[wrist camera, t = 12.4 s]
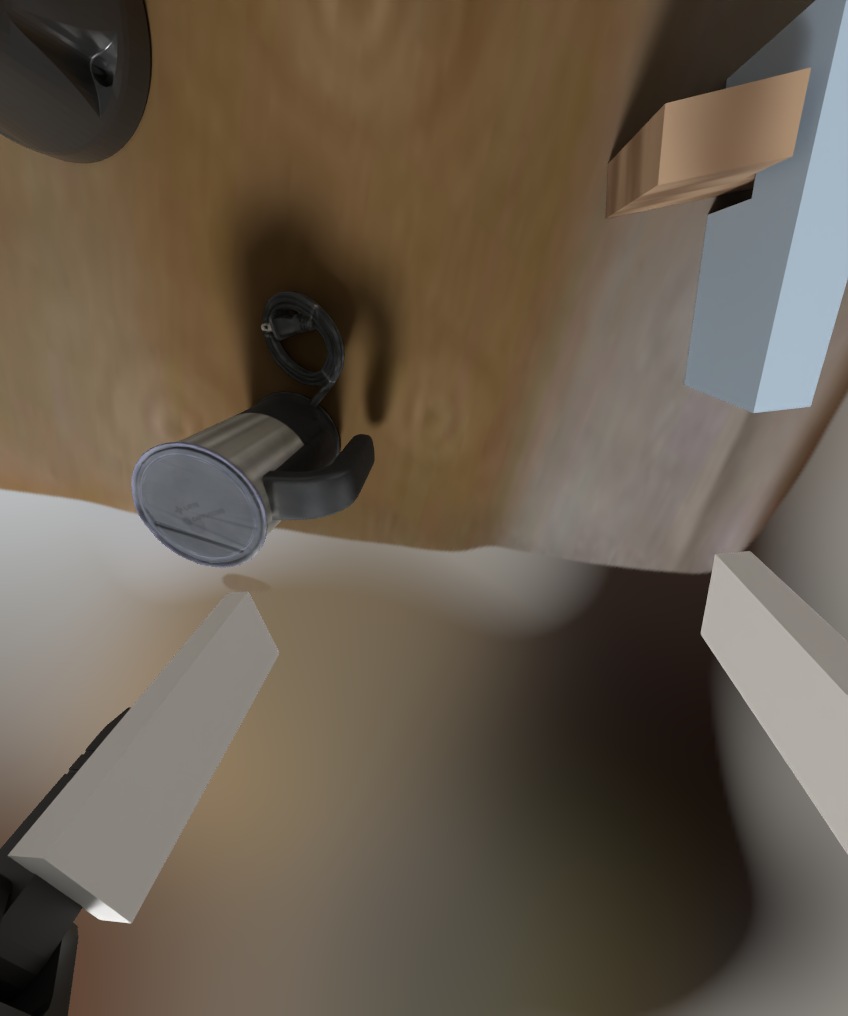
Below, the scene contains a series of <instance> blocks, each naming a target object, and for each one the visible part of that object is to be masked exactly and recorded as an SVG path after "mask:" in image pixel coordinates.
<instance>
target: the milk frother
mask: <svg viewBox="0 0 848 1016" xmlns="http://www.w3.org/2000/svg"><path fill="white" fill-rule="evenodd" d="M286 309H290V310H296V311H298V314H292V312H291V311H289V310H287V311H283V310H286ZM261 329H262V330H263V331H264V336H265V339H266V343H267V345H268V348H269V350H270V353H271V354H272V356H273V358H274V360H275V361H276V363H277V364H278V365H279V366H280V367H281V368H282V369H284V371H286V373H287V374H288V375H290V376H291V377H292V378H293V379H295V380H297V381H298V382H300V383H303V384H306V385H310V386H322V389H321V390H320V391H319V392H318V393H317V394H316V395H315V396H314V397H313V398H312V400H311V399H310V398H307V397H305V396H303V395H300V394H297V393H292V392H277V393H273V394H270V395H268V396H266V397H264V398H262V399H261V400H260V401H259V402H258V403H257V404H256V405H255V406H253V407H251V408H250V409H248V410H246V411H244V412H242V413H240V414H237V415H235V416H233V417H231V418H229V419H227V420H224V421H222V422H220V423H218V424H216V425H214V426H211V427H209V428H207V429H205V430H203V431H201V432H199V433H196V434H194V435H192V436H190V437H188V438H185V439H183V440H181V441H179V442H172V443H165V444H161V445H158V446H156V447H153V448H150V449H149V450H148V451H146V452H145V453H144V454H143V455H142V456H141V458H140V459H139V460H138V462H137V463H136V465H135V467H134V470H133V474H132V480H131V482H132V494H133V501H134V506H135V508H136V510H137V512H138V514H139V516H140V518H141V519H142V520H143V522H144V523H145V525H146V526H147V527H148V528H149V529H150V531H151V532H152V533H153V534H154V535H155V537H156V538H157V539H158V540H159V541H161V542H162V543H163V544H164V545H165V546H166V547H168V548H169V549H171V550H172V551H173V552H175V553H177V554H178V555H180V556H182V557H184V558H186V559H188V560H191V561H193V562H195V563H197V564H201V565H206V566H212V567H220V568H221V567H233V566H236V565H241V564H243V563H245V562H247V561H249V560H250V559H252V557H254V556H255V555H256V554H257V553H258V552H259V551H260V549H261V548H262V546H263V544H264V541H265V538H266V536H267V535H268V534H269V533H270V532H271V531H272V530H273V528H274V527H275V526H276V525H277V524H278V523H279V522H280V521H281V520H307V519H316V518H321V517H325V516H329V515H332V514H335V513H337V512H340V511H342V510H344V509H345V508H347V507H348V506H350V505H351V504H352V503H353V502H354V501H355V500H356V498H357V497H358V495H359V493H360V491H361V489H362V487H363V485H364V483H365V481H366V479H367V477H368V474H369V472H370V470H371V468H372V466H373V463H374V446H373V441H372V439H371V437H370V436H369V435H364V434H359V435H356V436H354V437H353V438H352V439H351V440H350V442H349V443H348V444H347V445H346V446H345V448H344V449H343V451H341V452H340V442H339V435H338V432H337V429H336V427H335V424H334V423H333V421H332V419H331V418H330V416H329V415H328V414H327V413H326V412H325V410H324V409H323V408H322V407H321V406H320V405H318V404H319V403H320V402H321V400H322V399H323V398H324V397H325V396H326V394H327V393H328V392H329V391H330V389H331V388H332V387H333V385H334V384H335V382H336V381H337V379H338V377H339V375H340V373H341V371H342V369H343V365H344V346H343V341H342V338H341V335H340V333H339V331H338V328H337V326H336V325H335V323H334V322H333V320H332V319H331V318H330V316H329V315H328V314H327V313H326V312H325V311H324V310H323V308H322V307H320V306H319V305H318V304H317V303H316V302H315V301H313V300H312V299H310V298H309V297H307V296H305V295H303V294H301V293H298V292H294V291H284V292H279V293H277V294H275V295H274V296H272V297H271V298H270V299H269V301H268V302H267V304H266V306H265V310H264V313H263V324H262V325H261ZM310 330H317V331H318V332H319V333H320V334H321V336H322V338H323V340H324V342H325V346H326V352H327V356H326V361H325V364H324V366H323V368H322V369H321V370H320V371H318V372H312V371H308V370H306V369H304V368H302V367H300V366H299V365H297V364H296V363H295V362H294V361H293V360H292V359H291V358H290V357H289V356H288V355H287V353H286V352H285V351H284V349H283V347H282V345H281V343H280V341H279V340H283V339H285V338H289V337H292V336H294V335H295V334H296V333H297V332H299V333H304V332H308V331H310ZM339 452H340V454H339Z"/></svg>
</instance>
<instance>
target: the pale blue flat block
mask: <svg viewBox="0 0 848 1016" xmlns="http://www.w3.org/2000/svg"><path fill="white" fill-rule="evenodd" d="M806 68H811V71H810V76H809V81H808V86H807V90H806V95H805V100H804V105H803V110H802V114H801V119H800V124H799V129H798V133H797V138H796V143H795V148H794V153H793V156H792V157H790V158H788V159H786V160H783V161H781V162H779V163H777V164H775V165H773V166H770V167H768V168H766V169H764V170H762V171H759V172H757V173H756V177H755V182H754V188H753V193H752V199H749V200H746V201H744V202H741V203H738V204H735V205H733V206H730V207H727V208H725V209H722V210H719V211H717V212H714V213H711V214H709V215H708V217H707V225H706V232H705V239H704V246H703V253H702V260H701V268H700V275H699V282H698V289H697V296H696V303H695V310H694V318H693V325H692V332H691V339H690V346H689V353H688V361H687V368H686V375H685V382H684V385H686V386H688V387H691V388H693V389H696V390H698V391H701V392H703V393H705V394H708V395H710V396H713V397H715V398H718V399H720V400H723V401H725V402H728V403H730V404H732V405H735V406H737V407H740V408H742V409H745V410H747V411H750V412H752V413H758V412H766V411H775V410H784V409H793V408H802V407H811V403H812V400H813V397H814V393H815V390H816V386H817V383H818V379H819V376H820V372H821V369H822V365H823V362H824V359H825V355H826V352H827V348H828V345H829V341H830V338H831V334H832V331H833V328H834V324H835V321H836V317H837V314H838V310H839V307H840V303H841V300H842V296H843V293H844V290H845V286H846V283H847V279H848V0H815V1H814V2H813V3H812V4H811V5H810V6H809V7H807V8H806V9H805V10H804V11H803V12H802V13H801V14H800V15H798V16H797V17H796V18H795V19H794V20H793V21H792V22H791V23H789V24H788V25H787V26H786V27H785V28H784V29H783V30H782V31H780V32H779V33H778V34H777V35H776V36H775V37H774V38H773V39H771V40H770V41H769V42H768V43H767V44H766V45H765V46H764V47H762V48H761V49H760V50H759V51H758V52H757V53H756V54H755V55H753V56H752V57H751V58H750V59H749V60H748V61H747V62H746V63H744V64H743V65H742V66H741V67H740V68H739V69H738V70H737V71H735V72H734V73H733V74H732V75H731V76H730V77H729V78H728V79H727V81H726V88H730V87H734V86H738V85H742V84H746V83H750V82H754V81H758V80H762V79H766V78H770V77H774V76H778V75H782V74H786V73H790V72H794V71H798V70H802V69H806Z"/></svg>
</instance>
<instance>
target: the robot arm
mask: <svg viewBox="0 0 848 1016" xmlns="http://www.w3.org/2000/svg"><path fill="white" fill-rule="evenodd" d="M149 81H150V42H149V33H148V26H147V20H146V14H145V9H144V5H143V1H142V0H0V134H2V135H3V136H5V137H7V138H8V139H10V140H12V141H14V142H16V143H18V144H20V145H22V146H24V147H26V148H29V149H31V150H34V151H37V152H40V153H42V154H45V155H48V156H51V157H54V158H57V159H60V160H64V161H68V162H73V163H92V162H97V161H101V160H104V159H106V158H108V157H110V156H112V155H113V154H115V153H116V152H118V151H119V150H120V149H121V148H122V147H123V146H124V145H125V144H126V143H127V142H128V141H129V139H130V138H131V137H132V135H133V134H134V132H135V130H136V128H137V126H138V124H139V122H140V120H141V117H142V115H143V111H144V108H145V105H146V100H147V96H148V89H149ZM701 635H702V637H703V638H704V640H705V641H706V643H707V644H708V646H709V647H710V649H711V650H712V652H713V653H714V655H715V656H716V658H717V659H718V661H719V662H720V664H721V665H722V667H723V668H724V670H725V671H726V672H727V674H728V676H729V677H730V679H731V680H732V681H733V683H734V685H735V686H736V687H737V689H738V690H739V692H740V693H741V695H742V697H743V698H744V700H745V701H746V703H747V704H748V706H749V707H750V709H751V710H752V712H753V713H754V715H755V716H756V718H757V719H758V721H759V722H760V724H761V725H762V727H763V728H764V730H765V731H766V733H767V734H768V736H769V737H770V739H771V740H772V742H773V743H774V745H775V746H776V748H777V749H778V751H779V752H780V754H781V755H782V757H783V758H784V760H785V761H786V763H787V764H788V766H789V767H790V769H791V770H792V772H793V773H794V775H795V776H796V778H797V779H798V781H799V782H800V784H801V785H802V786H803V788H804V790H805V791H806V793H807V794H808V796H809V797H810V798H811V800H812V801H813V803H814V805H815V806H816V807H817V809H818V810H819V812H820V813H821V815H822V817H823V818H824V819H825V821H826V823H827V824H828V826H829V827H830V829H831V830H832V832H833V833H834V834H835V836H836V837H837V839H838V841H839V842H840V844H841V845H842V847H843V848H844V850H845V851H846V853H847V854H848V641H846V640H845V639H844V638H843V637H842V636H841V635H840V634H839V633H838V632H837V631H836V630H835V629H834V628H832V627H831V626H830V625H829V624H828V623H827V622H826V621H825V620H824V619H823V618H822V617H820V615H818V614H817V613H816V612H815V611H814V610H813V609H812V608H811V607H810V606H809V605H808V604H807V603H805V602H804V601H803V600H802V599H801V598H800V597H799V596H798V595H797V594H796V593H795V592H794V591H793V590H791V589H790V588H789V587H788V586H787V585H786V584H785V583H784V582H783V581H782V580H781V579H780V578H778V577H777V576H776V575H775V574H774V573H773V572H772V571H771V570H770V569H769V568H768V567H767V566H766V565H764V564H763V563H762V562H761V561H760V560H759V559H758V558H757V557H756V556H755V555H754V554H753V553H751V552H750V551H747V552H734V553H722V554H715V559H714V564H713V570H712V575H711V581H710V586H709V592H708V598H707V603H706V608H705V613H704V619H703V625H702V630H701ZM278 655H279V651H278V649H277V647H276V645H275V643H274V641H273V639H272V637H271V635H270V634H269V631H268V629H267V627H266V625H265V624H264V621H263V619H262V617H261V615H260V614H259V612H258V610H257V608H256V606H255V604H254V602H253V600H252V598H251V596H250V594H249V592H248V591H247V592H235V593H227V594H226V595H225V596H224V597H223V598H222V600H221V601H220V602H219V603H218V604H217V606H216V607H215V608H214V609H213V610H212V612H211V613H210V614H209V615H208V616H207V618H206V619H205V620H204V621H203V622H202V624H201V625H200V626H199V627H198V628H197V630H196V631H195V632H194V633H193V634H192V635H191V637H190V638H189V639H188V640H187V642H186V643H185V644H184V645H183V646H182V648H181V649H180V650H179V651H178V652H177V654H176V655H175V656H174V657H173V658H172V659H171V661H170V662H169V663H168V664H167V665H166V667H165V668H164V669H163V670H162V671H161V673H160V674H159V675H158V676H157V678H156V679H155V680H154V681H153V683H151V685H150V686H149V687H148V688H147V689H146V691H145V692H144V693H143V694H142V695H141V697H140V698H139V699H138V700H137V701H136V702H135V704H134V705H133V706H132V707H130V708H127V709H126V710H125V711H124V712H122V713H121V714H120V715H119V716H118V717H117V718H115V719H114V720H113V721H112V722H110V723H109V724H108V725H107V726H106V727H105V728H104V729H103V730H102V731H101V732H100V733H99V735H98V736H97V737H96V738H95V739H94V740H93V742H92V743H91V744H90V745H89V746H88V748H87V749H86V752H85V754H83V755H81V756H80V757H79V758H78V759H77V761H75V763H74V764H73V765H72V766H71V767H70V768H69V772H68V774H64V775H63V777H62V778H61V779H60V780H59V781H58V782H57V784H56V785H55V786H54V787H53V788H52V789H51V791H50V792H49V793H48V794H47V795H46V796H45V797H44V799H43V800H42V801H41V802H40V803H39V804H38V806H37V807H36V808H35V809H34V810H33V811H32V813H31V814H30V815H29V816H28V817H27V818H26V820H25V821H24V822H23V823H22V824H21V826H20V827H19V828H18V829H17V830H16V831H15V833H14V834H13V835H12V836H11V837H10V838H9V839H8V841H7V842H6V843H5V844H4V845H3V847H2V848H1V849H0V1016H68V1010H69V1003H70V995H71V988H72V980H73V973H74V965H75V959H76V951H77V944H78V926H77V925H76V924H75V923H74V922H73V921H74V920H75V918H76V917H77V915H78V914H79V912H80V910H81V909H82V908H84V909H85V910H86V911H88V912H89V913H91V914H92V915H94V916H95V917H96V918H98V919H99V920H107V921H115V922H124V923H132V921H133V920H134V918H135V916H136V914H137V912H138V910H139V909H140V907H141V905H142V903H143V901H144V899H145V898H146V896H147V894H148V892H149V890H150V889H151V887H152V885H153V883H154V881H155V880H156V878H157V876H158V874H159V872H160V870H161V869H162V867H163V865H164V863H165V861H166V859H167V858H168V856H169V854H170V852H171V850H172V849H173V847H174V845H175V843H176V841H177V839H178V837H179V836H180V834H181V832H182V830H183V828H184V827H185V825H186V823H187V821H188V819H189V817H190V816H191V814H192V812H193V810H194V808H195V807H196V805H197V803H198V801H199V799H200V797H201V796H202V794H203V792H204V790H205V788H206V787H207V785H208V783H209V781H210V779H211V777H212V776H213V774H214V772H215V770H216V768H217V766H218V764H219V763H220V761H221V759H222V757H223V755H224V754H225V752H226V750H227V748H228V746H229V745H230V743H231V741H232V739H233V737H234V735H235V734H236V732H237V730H238V728H239V726H240V724H241V722H242V721H243V719H244V717H245V715H246V714H247V712H248V710H249V708H250V706H251V704H252V703H253V701H254V699H255V697H256V695H257V693H258V692H259V690H260V688H261V686H262V684H263V683H264V681H265V679H266V677H267V675H268V673H269V671H270V670H271V668H272V666H273V664H274V662H275V661H276V659H277V657H278Z"/></svg>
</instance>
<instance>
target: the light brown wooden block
mask: <svg viewBox="0 0 848 1016" xmlns="http://www.w3.org/2000/svg"><path fill="white" fill-rule="evenodd" d="M810 71H811V68H806V69H802V70H798V71H794V72H790V73H786V74H782V75H778V76H774V77H770V78H766V79H762V80H758V81H754V82H750V83H746V84H742V85H738V86H734V87H730V88H726V89H722V90H718V91H714V92H710V93H705V94H701V95H697V96H693V97H689V98H685V99H681V100H677V101H673V102H669V103H665V104H664V105H663V106H662V107H661V109H660V110H659V111H658V112H657V113H656V114H655V115H654V116H653V117H652V118H651V119H650V120H649V121H648V122H647V123H646V124H645V125H644V126H643V127H642V129H641V130H640V131H639V132H638V133H637V134H636V135H635V136H634V137H633V138H632V139H631V140H630V141H629V142H628V143H627V144H626V145H625V146H624V147H623V148H622V150H621V151H620V152H619V153H618V154H617V155H616V156H615V157H614V158H613V159H612V160H611V161H610V162H609V163H608V173H607V196H606V219H607V218H611V217H616V216H621V215H626V214H631V213H636V212H641V211H646V210H651V209H656V208H661V207H665V206H670V205H675V204H680V203H685V202H690V201H695V200H700V199H705V198H710V197H714V196H719V195H724V194H729V193H734V192H739V191H744V190H749V189H753V188H754V182H755V177H756V173H757V172H759V171H762V170H764V169H766V168H768V167H770V166H773V165H775V164H777V163H779V162H781V161H783V160H786V159H788V158H790V157H792V156H793V153H794V148H795V143H796V138H797V133H798V129H799V124H800V119H801V114H802V110H803V105H804V100H805V95H806V90H807V86H808V81H809V76H810Z"/></svg>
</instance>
